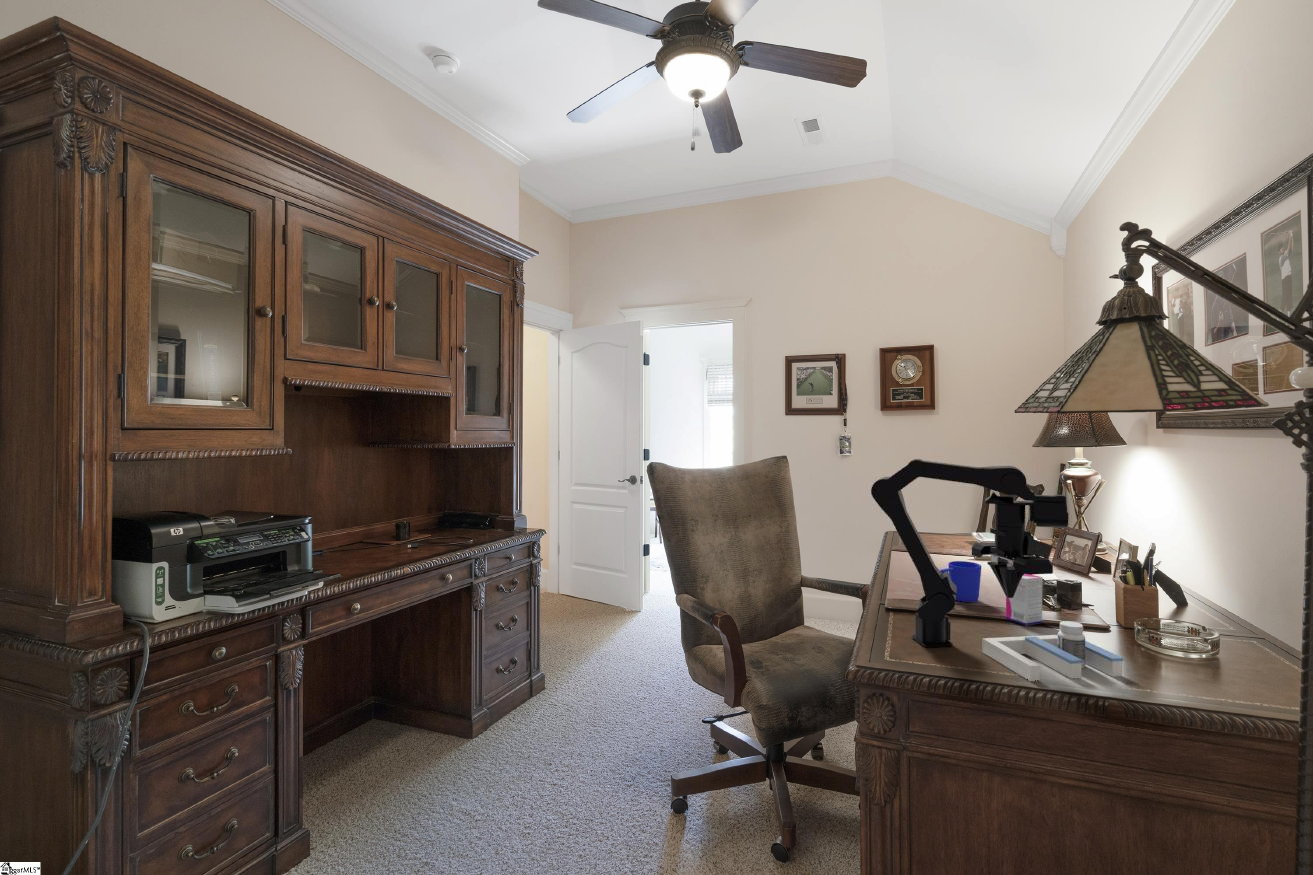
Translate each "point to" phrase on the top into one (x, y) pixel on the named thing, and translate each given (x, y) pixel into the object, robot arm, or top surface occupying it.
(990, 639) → the white shelf frame
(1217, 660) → the top surface
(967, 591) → the mug
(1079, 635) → the pill bottle
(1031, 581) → the supplement box
